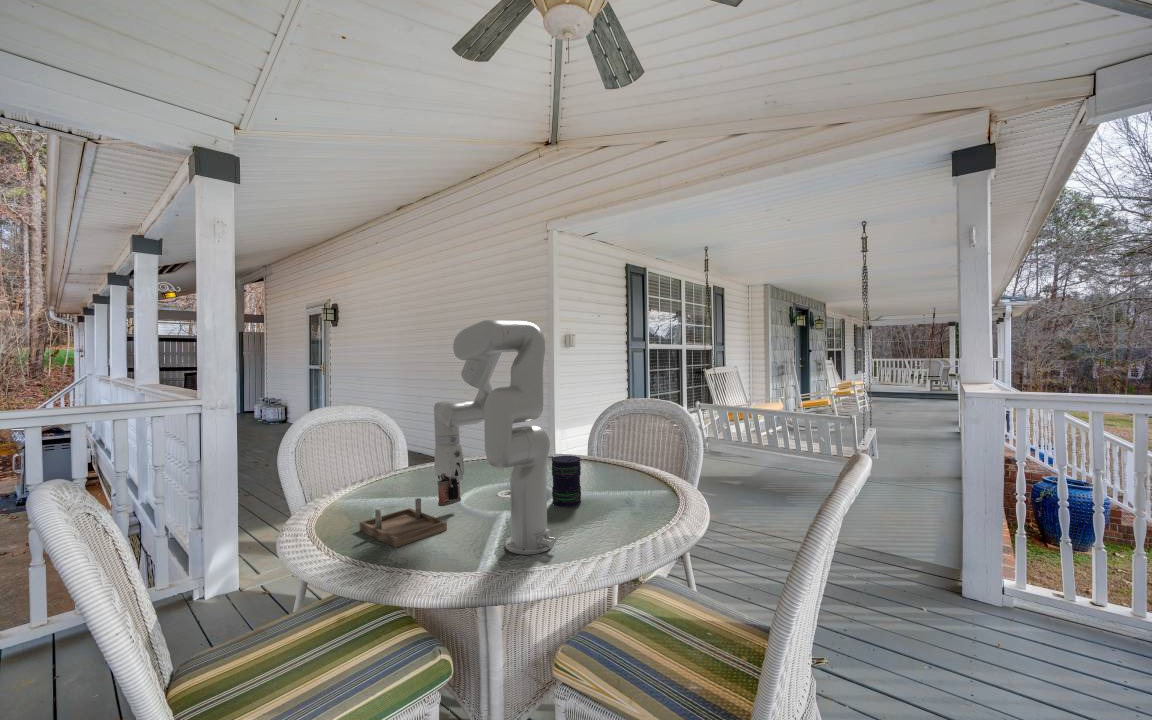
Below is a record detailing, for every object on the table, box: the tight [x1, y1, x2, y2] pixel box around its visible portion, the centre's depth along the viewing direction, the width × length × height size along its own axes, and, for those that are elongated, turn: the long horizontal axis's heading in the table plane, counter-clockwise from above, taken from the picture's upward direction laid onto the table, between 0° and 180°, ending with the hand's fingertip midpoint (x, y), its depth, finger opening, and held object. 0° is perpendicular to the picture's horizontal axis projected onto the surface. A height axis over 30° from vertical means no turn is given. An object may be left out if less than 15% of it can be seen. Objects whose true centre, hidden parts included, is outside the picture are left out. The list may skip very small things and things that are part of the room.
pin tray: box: [359, 497, 448, 549], centre depth 141 cm, size 20×16×7 cm
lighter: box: [437, 474, 462, 507], centre depth 155 cm, size 8×3×10 cm, turn 143°
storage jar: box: [551, 455, 582, 508], centre depth 164 cm, size 10×10×15 cm
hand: (449, 497), depth 155 cm, fingers closed on lighter, 3 cm apart
